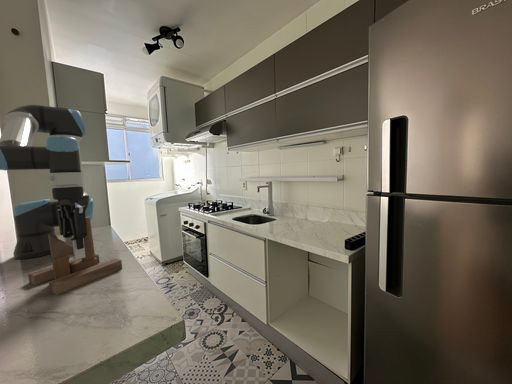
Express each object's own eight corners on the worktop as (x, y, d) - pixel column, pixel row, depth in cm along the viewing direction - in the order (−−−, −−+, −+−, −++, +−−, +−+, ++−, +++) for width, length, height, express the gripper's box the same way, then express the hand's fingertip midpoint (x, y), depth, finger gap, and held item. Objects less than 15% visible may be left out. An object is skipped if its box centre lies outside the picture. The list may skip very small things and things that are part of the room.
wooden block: (54, 278, 68) (46, 222, 67) (95, 266, 76) (89, 215, 75) (56, 281, 66) (47, 223, 64) (98, 268, 74) (91, 216, 72)
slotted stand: (29, 282, 67) (28, 273, 67) (93, 260, 83) (92, 253, 83) (56, 295, 59) (55, 284, 59) (122, 268, 75) (121, 259, 75)
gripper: (40, 187, 69) (49, 257, 72) (66, 187, 62) (76, 266, 64) (68, 185, 76) (76, 250, 78) (95, 185, 68) (103, 256, 70)
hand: (76, 257), depth 71 cm, fingers closed on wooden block, 4 cm apart
